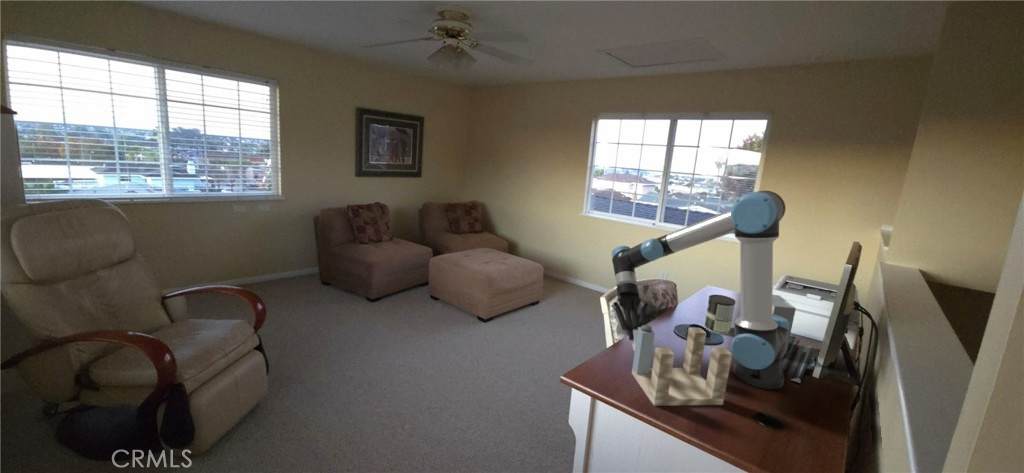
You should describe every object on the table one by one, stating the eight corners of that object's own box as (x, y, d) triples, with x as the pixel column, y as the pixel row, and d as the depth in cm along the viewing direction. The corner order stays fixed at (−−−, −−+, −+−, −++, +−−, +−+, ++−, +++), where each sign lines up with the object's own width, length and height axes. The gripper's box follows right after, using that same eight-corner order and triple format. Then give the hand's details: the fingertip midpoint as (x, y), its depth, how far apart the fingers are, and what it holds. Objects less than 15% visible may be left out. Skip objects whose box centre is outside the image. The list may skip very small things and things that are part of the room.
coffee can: (700, 328, 183) (705, 298, 180) (709, 322, 190) (714, 292, 187) (725, 336, 176) (731, 305, 173) (733, 329, 184) (738, 299, 180)
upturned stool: (692, 372, 146) (700, 327, 143) (722, 404, 129) (732, 354, 125) (631, 373, 144) (637, 327, 140) (654, 405, 127) (661, 354, 123)
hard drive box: (786, 357, 161) (796, 308, 157) (764, 354, 162) (774, 306, 158) (770, 339, 176) (779, 294, 171) (750, 337, 177) (759, 292, 173)
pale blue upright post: (643, 367, 144) (649, 324, 140) (648, 374, 140) (655, 330, 136) (632, 367, 143) (638, 324, 140) (637, 374, 140) (643, 329, 136)
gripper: (639, 290, 159) (650, 353, 147) (606, 289, 158) (614, 352, 146) (647, 282, 153) (659, 347, 141) (612, 281, 152) (622, 346, 139)
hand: (636, 349), depth 143 cm, fingers closed
